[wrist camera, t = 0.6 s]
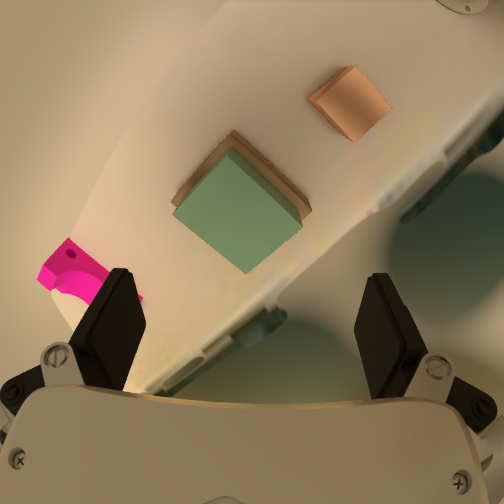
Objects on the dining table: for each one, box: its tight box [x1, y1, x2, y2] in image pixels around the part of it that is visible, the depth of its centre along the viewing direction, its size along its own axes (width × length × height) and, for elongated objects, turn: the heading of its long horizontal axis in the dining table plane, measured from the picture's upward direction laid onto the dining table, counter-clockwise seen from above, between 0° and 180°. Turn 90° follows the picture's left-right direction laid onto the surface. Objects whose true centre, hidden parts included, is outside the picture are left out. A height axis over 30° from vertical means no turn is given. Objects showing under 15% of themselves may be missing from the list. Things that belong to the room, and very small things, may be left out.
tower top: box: [173, 147, 303, 274], centre depth 31 cm, size 8×10×4 cm
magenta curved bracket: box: [37, 237, 143, 306], centre depth 40 cm, size 15×6×8 cm, turn 45°
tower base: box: [171, 130, 312, 220], centre depth 35 cm, size 10×12×4 cm
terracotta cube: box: [307, 66, 393, 143], centre depth 27 cm, size 6×6×6 cm
